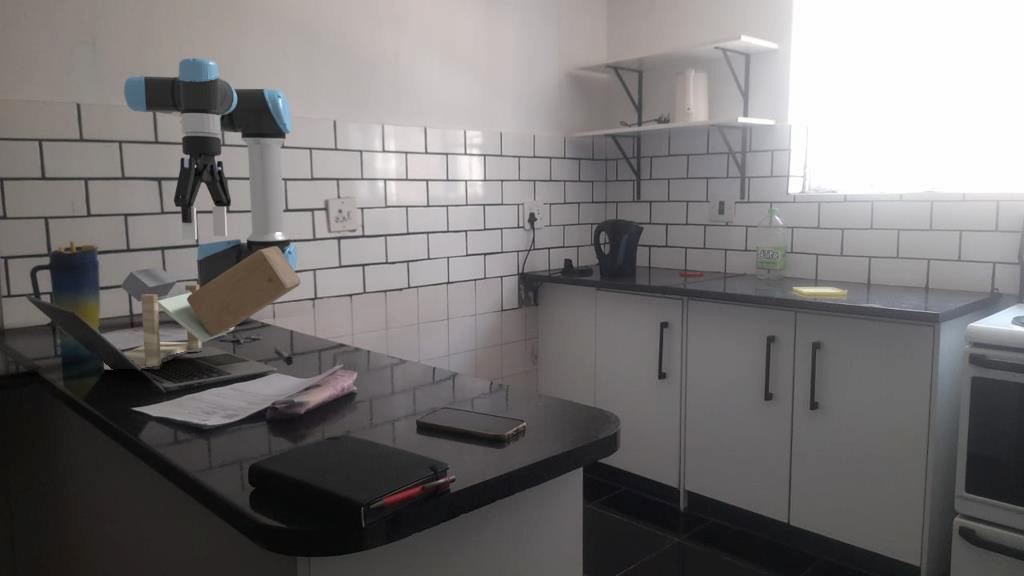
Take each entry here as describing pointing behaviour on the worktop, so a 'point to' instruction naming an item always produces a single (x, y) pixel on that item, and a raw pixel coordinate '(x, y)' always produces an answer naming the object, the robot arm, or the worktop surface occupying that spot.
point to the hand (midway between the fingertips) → (205, 237)
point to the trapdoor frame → (157, 336)
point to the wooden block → (243, 290)
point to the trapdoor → (167, 299)
